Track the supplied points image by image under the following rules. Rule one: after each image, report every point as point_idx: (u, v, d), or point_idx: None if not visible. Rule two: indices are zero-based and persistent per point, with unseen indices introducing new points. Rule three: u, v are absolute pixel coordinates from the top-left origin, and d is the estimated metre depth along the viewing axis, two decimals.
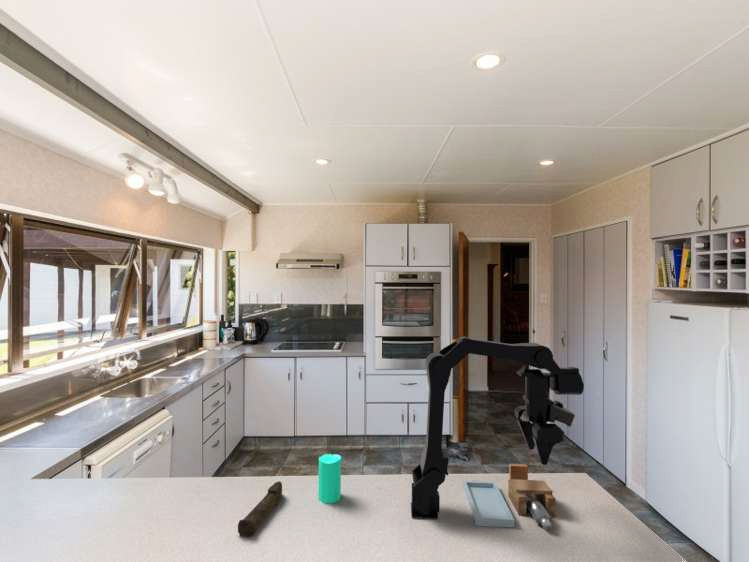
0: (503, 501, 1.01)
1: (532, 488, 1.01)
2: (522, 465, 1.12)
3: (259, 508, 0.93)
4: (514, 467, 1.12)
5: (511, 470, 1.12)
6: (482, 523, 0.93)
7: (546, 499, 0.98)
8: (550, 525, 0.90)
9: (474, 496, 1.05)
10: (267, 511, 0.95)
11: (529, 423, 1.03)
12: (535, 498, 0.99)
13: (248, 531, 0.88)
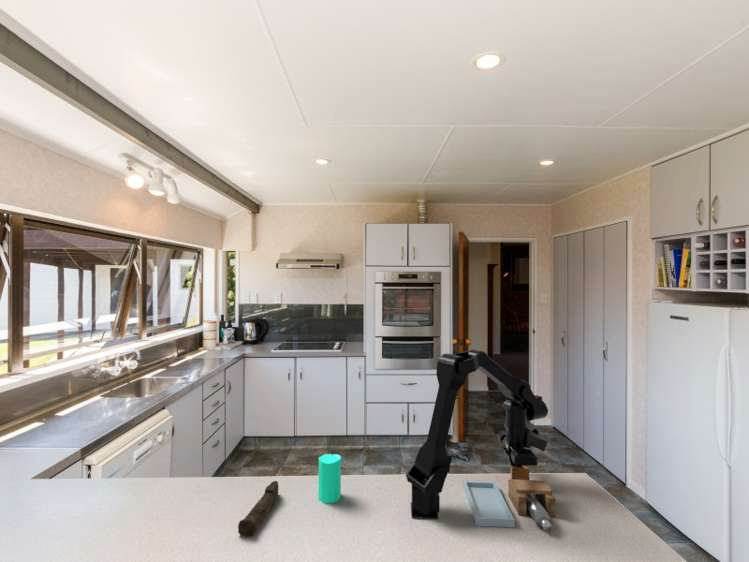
0: (503, 501, 1.01)
1: (532, 488, 1.01)
2: (523, 467, 1.11)
3: (258, 508, 0.93)
4: (515, 469, 1.10)
5: (512, 472, 1.11)
6: (482, 523, 0.93)
7: (546, 499, 0.98)
8: (550, 526, 0.90)
9: (474, 496, 1.05)
10: (266, 511, 0.95)
11: None
12: (534, 499, 0.98)
13: (249, 531, 0.87)
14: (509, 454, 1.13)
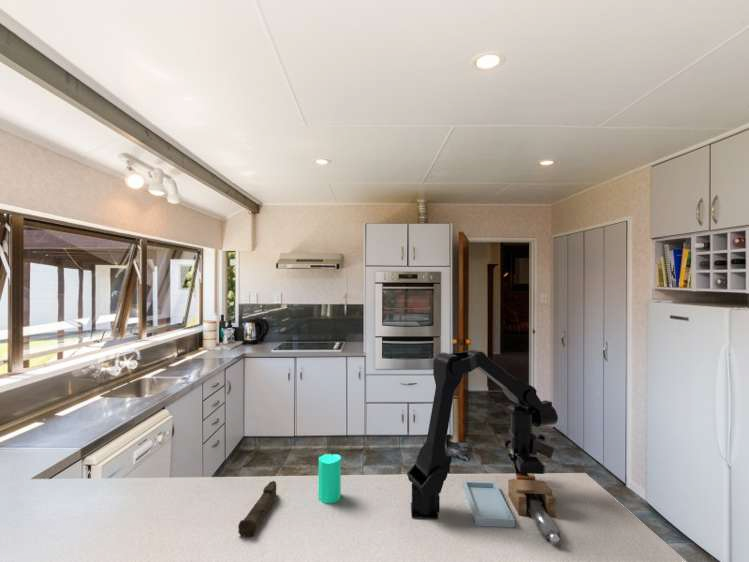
0: (503, 501, 1.01)
1: (532, 488, 1.01)
2: (529, 475, 1.06)
3: (258, 508, 0.93)
4: (521, 477, 1.06)
5: None
6: (482, 523, 0.93)
7: (546, 499, 0.98)
8: (559, 540, 0.85)
9: (474, 496, 1.05)
10: (265, 510, 0.95)
11: None
12: (541, 510, 0.94)
13: (250, 531, 0.88)
14: (514, 461, 1.08)
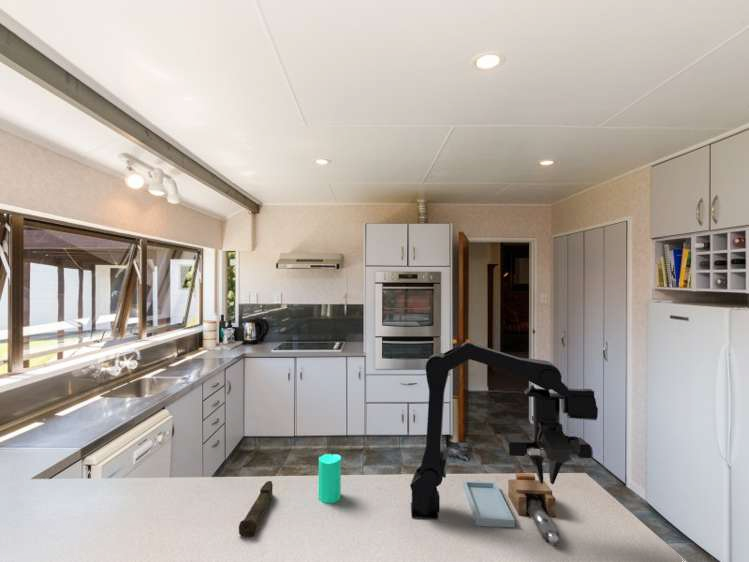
0: (503, 501, 1.01)
1: (532, 488, 1.01)
2: (529, 475, 1.06)
3: (257, 508, 0.93)
4: (521, 477, 1.06)
5: None
6: (482, 523, 0.93)
7: (546, 499, 0.98)
8: (557, 539, 0.85)
9: (474, 496, 1.05)
10: (263, 510, 0.95)
11: None
12: (538, 510, 0.94)
13: (250, 531, 0.88)
14: None
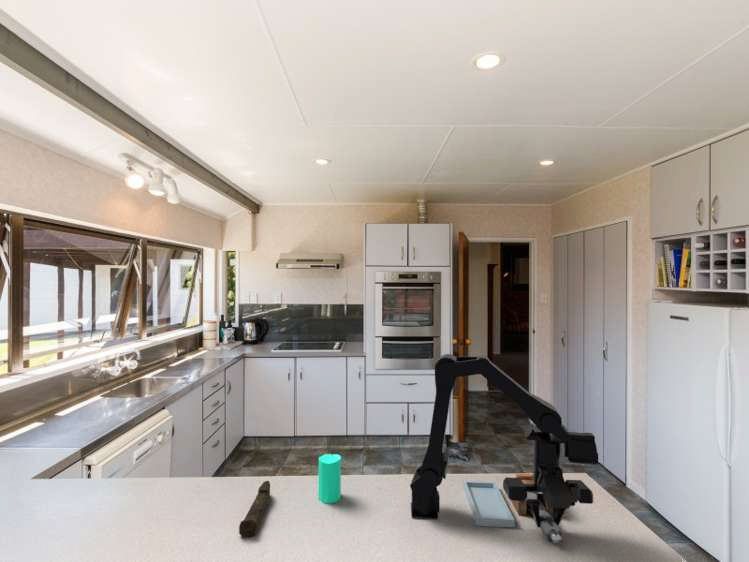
0: (503, 501, 1.01)
1: None
2: (529, 475, 1.06)
3: (256, 508, 0.93)
4: (521, 477, 1.06)
5: None
6: (482, 523, 0.93)
7: None
8: (560, 540, 0.85)
9: (474, 496, 1.05)
10: (263, 510, 0.96)
11: None
12: (543, 510, 0.94)
13: (251, 531, 0.88)
14: None
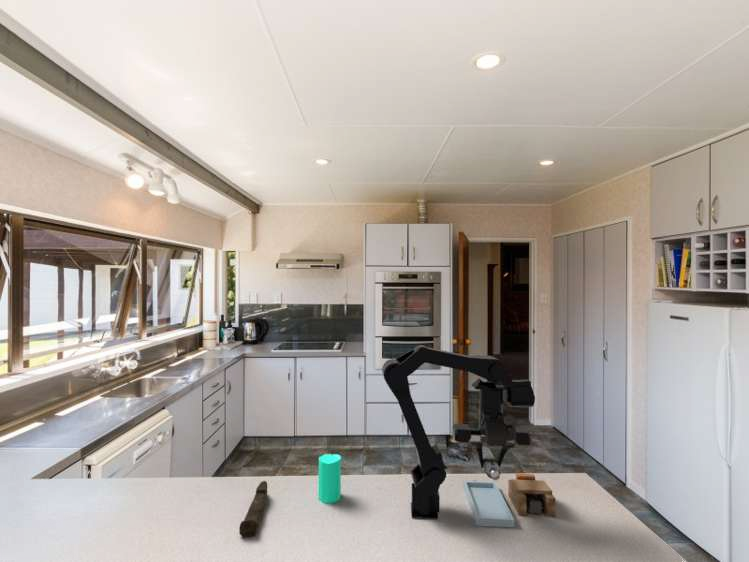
0: (503, 501, 1.01)
1: (532, 488, 1.01)
2: (529, 475, 1.06)
3: (255, 508, 0.93)
4: (521, 477, 1.06)
5: None
6: (482, 523, 0.93)
7: (546, 499, 0.98)
8: (498, 475, 0.94)
9: (474, 496, 1.05)
10: (261, 510, 0.96)
11: None
12: (489, 453, 1.02)
13: (252, 531, 0.88)
14: None
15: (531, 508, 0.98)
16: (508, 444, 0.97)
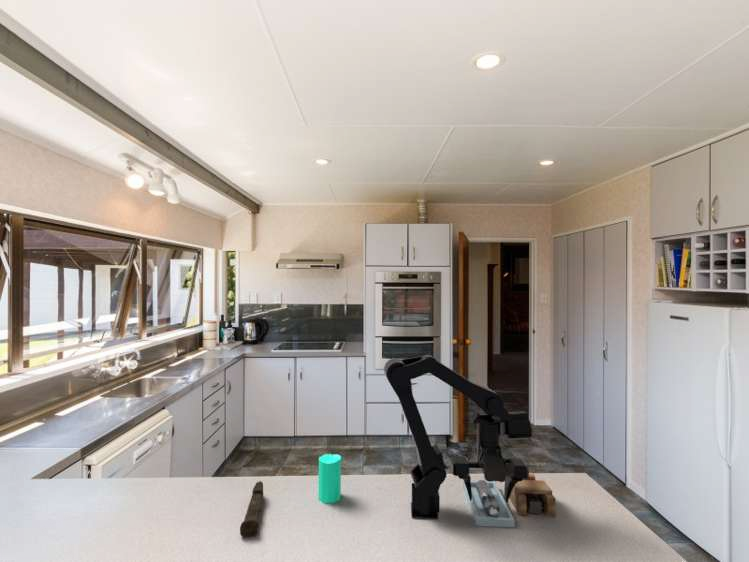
0: (503, 501, 1.01)
1: (532, 488, 1.01)
2: (529, 475, 1.06)
3: (254, 508, 0.93)
4: None
5: None
6: (482, 523, 0.93)
7: (546, 499, 0.98)
8: (497, 513, 0.94)
9: (474, 496, 1.05)
10: None
11: None
12: (487, 488, 1.02)
13: (253, 531, 0.88)
14: None
15: (531, 508, 0.98)
16: (517, 478, 0.97)
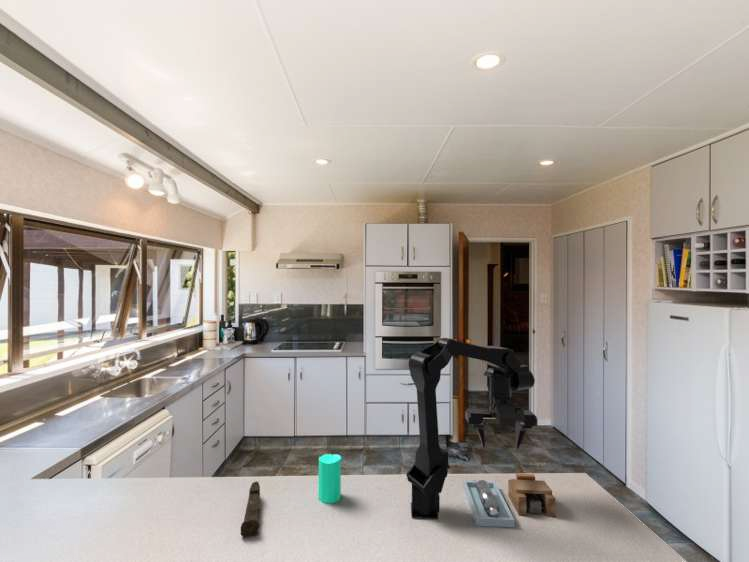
0: (503, 501, 1.01)
1: (532, 488, 1.01)
2: (529, 475, 1.06)
3: (253, 508, 0.93)
4: (521, 477, 1.06)
5: None
6: (482, 523, 0.93)
7: (546, 499, 0.98)
8: (497, 513, 0.94)
9: (474, 496, 1.05)
10: None
11: (518, 424, 1.10)
12: (487, 488, 1.02)
13: (253, 531, 0.88)
14: None
15: (531, 508, 0.98)
16: (527, 426, 1.07)
